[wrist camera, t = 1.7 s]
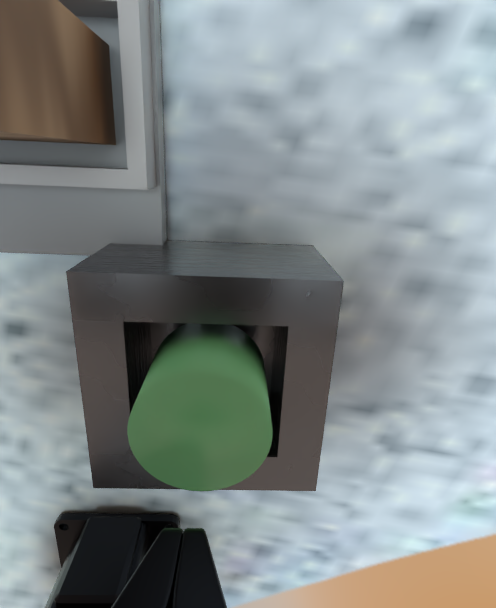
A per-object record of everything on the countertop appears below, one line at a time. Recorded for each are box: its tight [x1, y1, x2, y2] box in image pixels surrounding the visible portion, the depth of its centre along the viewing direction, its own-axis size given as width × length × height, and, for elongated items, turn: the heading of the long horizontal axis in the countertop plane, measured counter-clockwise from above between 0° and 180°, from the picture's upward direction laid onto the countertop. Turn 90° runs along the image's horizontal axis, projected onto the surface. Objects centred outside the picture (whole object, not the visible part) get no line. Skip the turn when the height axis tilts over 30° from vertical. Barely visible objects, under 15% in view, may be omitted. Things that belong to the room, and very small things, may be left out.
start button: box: [127, 323, 272, 491], centre depth 12 cm, size 4×4×4 cm
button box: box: [66, 240, 344, 491], centre depth 15 cm, size 8×8×5 cm
